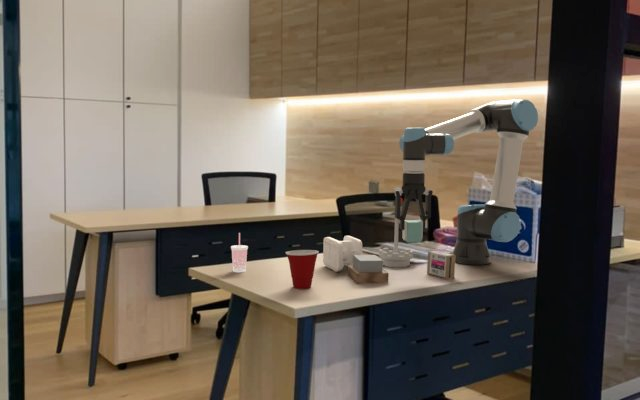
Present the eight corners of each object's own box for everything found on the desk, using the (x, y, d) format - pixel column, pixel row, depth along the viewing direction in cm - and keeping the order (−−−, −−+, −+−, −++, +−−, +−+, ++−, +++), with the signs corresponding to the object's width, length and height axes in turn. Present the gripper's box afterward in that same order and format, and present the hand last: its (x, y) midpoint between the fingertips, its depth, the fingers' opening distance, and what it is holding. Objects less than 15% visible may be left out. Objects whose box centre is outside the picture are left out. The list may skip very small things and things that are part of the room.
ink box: (426, 274, 223) (427, 251, 222) (433, 272, 225) (434, 250, 224) (447, 279, 215) (448, 255, 214) (455, 278, 217) (456, 254, 216)
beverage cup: (250, 271, 221) (250, 233, 220) (234, 273, 218) (234, 234, 217) (243, 268, 226) (243, 231, 225) (228, 270, 223) (228, 232, 222)
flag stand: (404, 268, 231) (406, 189, 228) (373, 264, 238) (375, 187, 235) (417, 263, 242) (420, 187, 239) (387, 259, 249) (389, 185, 246)
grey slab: (374, 266, 218) (375, 254, 218) (382, 272, 208) (382, 260, 208) (352, 266, 217) (353, 255, 216) (359, 272, 207) (359, 260, 207)
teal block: (416, 239, 218) (417, 220, 217) (421, 242, 213) (422, 222, 212) (403, 240, 217) (403, 220, 216) (407, 242, 212) (408, 222, 211)
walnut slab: (377, 276, 220) (377, 265, 220) (388, 284, 208) (388, 273, 207) (347, 276, 218) (348, 265, 218) (356, 285, 206) (357, 273, 205)
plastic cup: (305, 281, 208) (305, 246, 206) (324, 288, 199) (325, 251, 198) (278, 285, 201) (278, 249, 200) (297, 292, 192) (298, 255, 191)
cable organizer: (363, 272, 224) (364, 240, 223) (336, 274, 220) (337, 242, 219) (346, 264, 238) (347, 234, 237) (321, 265, 234) (321, 235, 233)
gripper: (434, 171, 217) (433, 236, 220) (385, 171, 214) (384, 237, 217) (442, 172, 210) (440, 239, 213) (391, 173, 207) (390, 241, 209)
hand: (412, 238), depth 215 cm, fingers closed on teal block, 5 cm apart
